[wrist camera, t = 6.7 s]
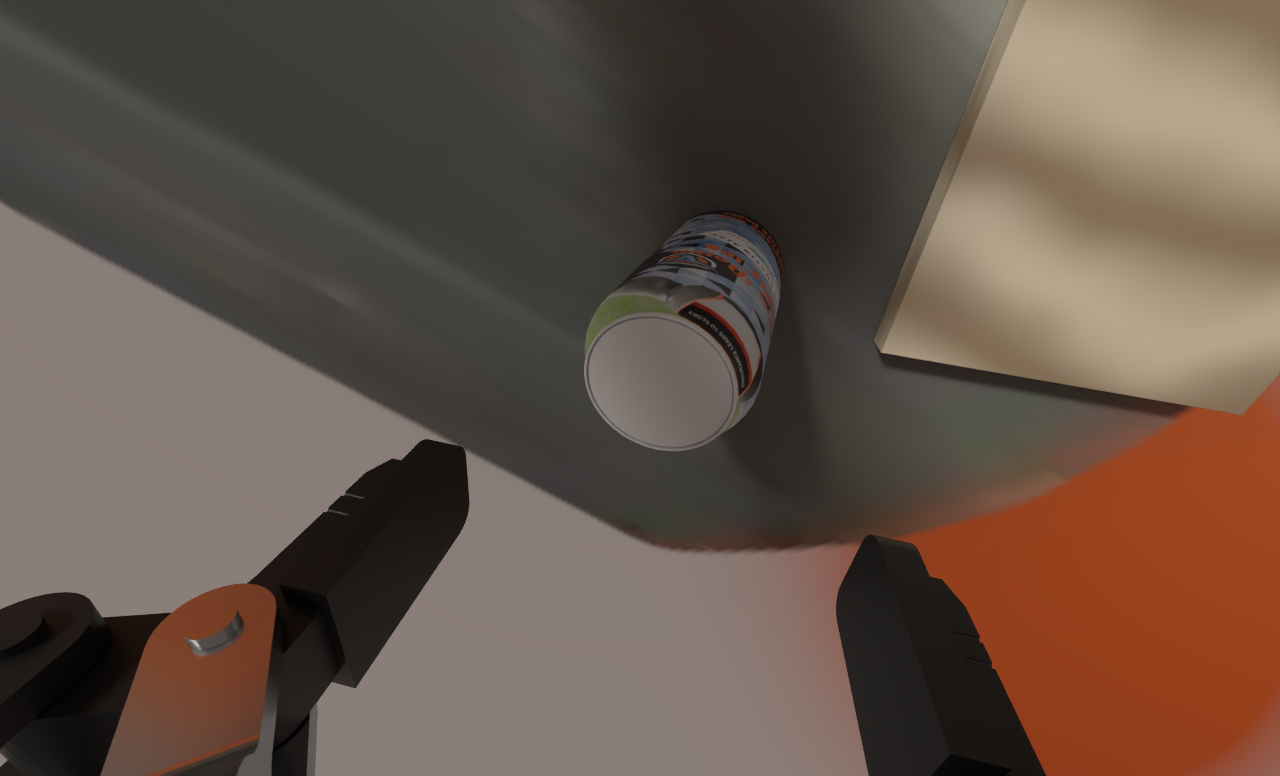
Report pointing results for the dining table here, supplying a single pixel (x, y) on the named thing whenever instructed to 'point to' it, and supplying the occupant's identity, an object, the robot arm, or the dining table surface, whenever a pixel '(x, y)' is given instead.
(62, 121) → the dining table surface
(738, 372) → the beverage can
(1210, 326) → the coaster board
